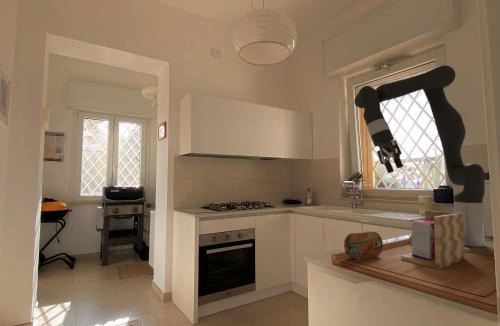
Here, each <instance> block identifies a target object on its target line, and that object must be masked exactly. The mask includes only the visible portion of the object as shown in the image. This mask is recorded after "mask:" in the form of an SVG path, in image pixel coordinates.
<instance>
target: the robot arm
mask: <svg viewBox="0 0 500 326" xmlns="http://www.w3.org/2000/svg"><path fill="white" fill-rule="evenodd" d="M455 79H456V71H455V70H454V68H453V67H451V66H450V65H445V64H444V65H438V66H436V67H434V68H431V69H430V70H427V71H426V72H423V73H420V74H417V75H414V76H410V77H407V78H402V79H399V80H394V81H390V82H386V83H383V84H380V85H378V86H377V87H376V88H374V87H373V86H371V85H365V86H362V87H361V88H360V89H359V91H358V93H357V94H356V96H355V98H354V105H355V106H356V107H357V108H359V109H363V120H364V122H365V125H366V126H367V131H368V133H369V136H370V139H371V141H372V144H373V146H374V147H379V148H378V149H379V150H377V151H376V153H377V156H378V159H379V162H380V164H381V165H384V166H385V169H386V171H387V173H388V174H391V173H393V172H394V171H395V170H394V168H393V165H392V163H391V159H393V163H394V165H395V167H396V169H401V168H404V164H403V162H402V160H401V155H402V151H401V148H400V146H399V144H398V142H397V140H396V139H395V138H394V136H393V134H392V131H391V129H390V127H389V125H388V122H387V121H386V119H385V116H384V114H383V112H382V110H381V109H382V108H381V103H382V102H386V101H390V100H394V99H398V98H401V97H404V96H406V95H409V94H412V93H416V92H417V91H418V92H419V91H421V90H422V91H423V93H424V96H425V97H426V99H427V101H428V102H427V103H428V104H429V106H430V110H431V113H432V116H433V119H434V123H435V127H436V130H437V135H438V137H439V140H440V143H441V147H442V152H443V155H444V161H445V165H446V166H445V167H446V172H447V176H448V177H447V178H448V179H449V181H450V182H451V183H452V184H453V185H454V186H462V187H463V190H462V191H460V192H458V193H457V194H454V196H453V208H454V210H453V211H454V212H453V213H463V225H464V246H467V247H474V248H476V247H477V248H483V247H485V233H484V231H485V230H484V229H485V227H484V226H485V225H484V210H483V209H484V207H483V200H484V196H485V191H486V190H485V189H486V188H485V183H486V182H485V181H486V176H485V171H484V169H483V167H482V166H481V165H480V164H479V163H464V161H463V159H462V153H461V152H462V146H463V145H464V144H463V143H464V140H465V138H466V127H465V124H464V123H465V122H464V121H463V118H462V115H461V114H460V112H459V111H458V110H457V109H456V108H455V107H454V106H453V105H452V104H451V103H450V102H449V100H448V99H447V96H446V93H445V89H444V88H447V87H449V86H450V85H451V84H453V82H454V81H455Z"/></svg>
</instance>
